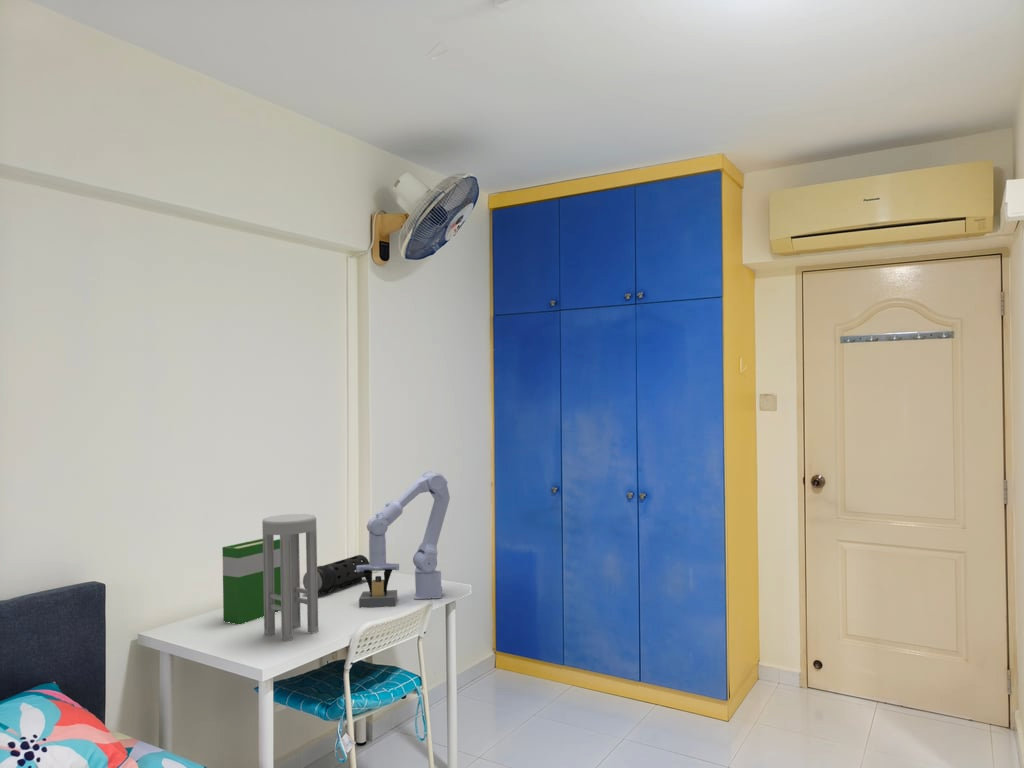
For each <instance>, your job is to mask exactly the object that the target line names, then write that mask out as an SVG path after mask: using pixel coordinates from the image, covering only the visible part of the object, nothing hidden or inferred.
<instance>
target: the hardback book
mask: <svg viewBox="0 0 1024 768" xmlns="http://www.w3.org/2000/svg"><path fill="white" fill-rule="evenodd" d="M274 594H277V595H281V571H280V538H278V539H274ZM222 598H223V599H222V601H223V602H222V603H223V606H222V608H223V609H222V610H223V614H222V615H223V622H224V621H225V622H224V623H226V622H230V623H229V624H232V623H235V624H234V625H237V624H240V625H242V623H243V624H246V623H249V622H252V621H255V620H257V618H258V619H261V618H264V617H263V616H264V583H263V538H259V539H254V540H250V541H245V542H240V543H236V544H231V545H227V546H226V545H225V546H222ZM275 604H276V605H280V606H281V601H280V600H276V599H275ZM278 611H279V610H275V612H277V613H279V612H278ZM260 617H261V618H260ZM245 622H246V623H245Z"/></svg>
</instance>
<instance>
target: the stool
mask: <svg viewBox="0 0 1024 768" xmlns="http://www.w3.org/2000/svg"><path fill="white" fill-rule="evenodd" d="M317 532H318V531H317V517H316V516H315V515H314V514H311V513H310V514H307V513H289V514H288V513H287V514H278V515H273V516H269V517H265V518H263V519H262V539H263V583H264V617H263V624H264V625H263V628H264V629H263V630H264V634H265V636H267V635H268V636H269V635H270V636H273V635H276V613H275V610H279V611H280V612H281V613H280V616H281V617H280V618H281V619H280V620H281V621H280V622H281V624H280V625H281V641H283V640H284V641H283V642H289V641H292V640H291V639H294V636H293V635H294V634H293V631H294V630H293V629H297V628H300V626H301V625H302V624H301V623H302V621H301V604H302V605H303V604H304V605H306V607H307V608H306V609H307V610H306V611H307V612H306V613H307V614H306V615H307V633H308V632H311V633H310V634H314V633H313V632H316V631H318V632H319V597H318V596H319V594H318V584H317V567H318V541H317V540H318V537H317ZM300 534H305V551H306V552H305V553H306V554H305V555H306V556H305V557H306V558H305V560H306V572H307V589H305V588H304V587H301V577H300V576H301V575H300V574H301V573H300V565H301V564H300ZM274 536H279V539H280V571H281V595H277V594H274V540H275V538H274ZM301 594H304V595H306V598H304V597H301ZM275 599H276V600H280V601H281V606H280V605H276V604H275ZM316 633H317V632H316ZM272 634H273V635H272ZM268 636H267V637H268ZM270 636H269V637H270ZM288 640H289V641H288Z"/></svg>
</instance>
